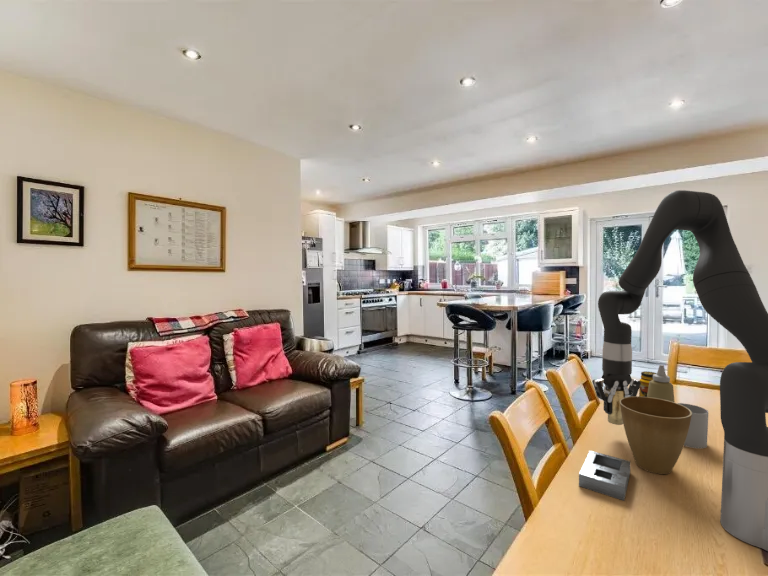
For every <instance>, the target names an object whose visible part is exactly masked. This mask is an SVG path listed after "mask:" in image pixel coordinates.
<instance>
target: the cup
mask: <svg viewBox="0 0 768 576" xmlns="http://www.w3.org/2000/svg"><path fill="white" fill-rule="evenodd" d="M677 403H678V404H680V405H683V406H685V407H687V408H688V409H690V410H691V412H692V417H691V422H690V426H689V430H688V434H687V437H686V440H685V443H684V446H683V447H686V448H691V449H692V448H693V449H705V448H707V447H708V435H709V434H708V432H709V431H708V429H709V411H708V410H707V409H706V408H704V407H701V406H698V405H694V404H690V403H684V402H683V403H682V402H677Z"/></svg>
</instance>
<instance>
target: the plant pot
mask: <svg viewBox="0 0 768 576" xmlns="http://www.w3.org/2000/svg"><path fill="white" fill-rule="evenodd" d="M678 403H679V402H671V401H668V400H663V399H658V398H652V397H640V396H639V395H637V396H633V397H625V398H622V399H621V400H620V408H621V414H622V420H623V424H622V425H623V428H624V432H625V435H626V439H627V442H628V446H629V448H630V452H631V454H632V457H633V458H634V461H635V464H636V465H637V466H638V467H639V468H641V469H643V470H644V471H647V472H650V473H653V474H659V475H668V474H671V472H672V471H673V469H674V467H675V466H676V464H677V462H678V460H679V458H680V456H681V454H682V451H683V448H684V447H685V446H684V443H685V440H686V437H687V434H688V430H689V426H690V422H691V417H692V412H691V410H690V409H688V408H687V407H685V406H683V405H680V404H678Z"/></svg>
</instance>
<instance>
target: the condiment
mask: <svg viewBox="0 0 768 576" xmlns="http://www.w3.org/2000/svg"><path fill="white" fill-rule="evenodd" d="M654 374H657V372H652V371H641V373H640V378H639V381H640V382H641V385H640V387H639V390H638V396H640V397H647V393H648V387H649V382H650V381H651V380H653V375H654Z"/></svg>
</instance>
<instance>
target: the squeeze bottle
mask: <svg viewBox="0 0 768 576" xmlns="http://www.w3.org/2000/svg"><path fill="white" fill-rule="evenodd" d="M656 373H657V374H654V375H653V380H651V381H650V382H649V387H648V393H647V397H652V398H658V399H663V400H668V401H671V402H675V390H674V384H673V383H672V382H671V377H670V376H669V375H667V373H666V369H665V366H664V365H663V364H659V366H658V369H657V372H656ZM675 403H676V402H675Z"/></svg>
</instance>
